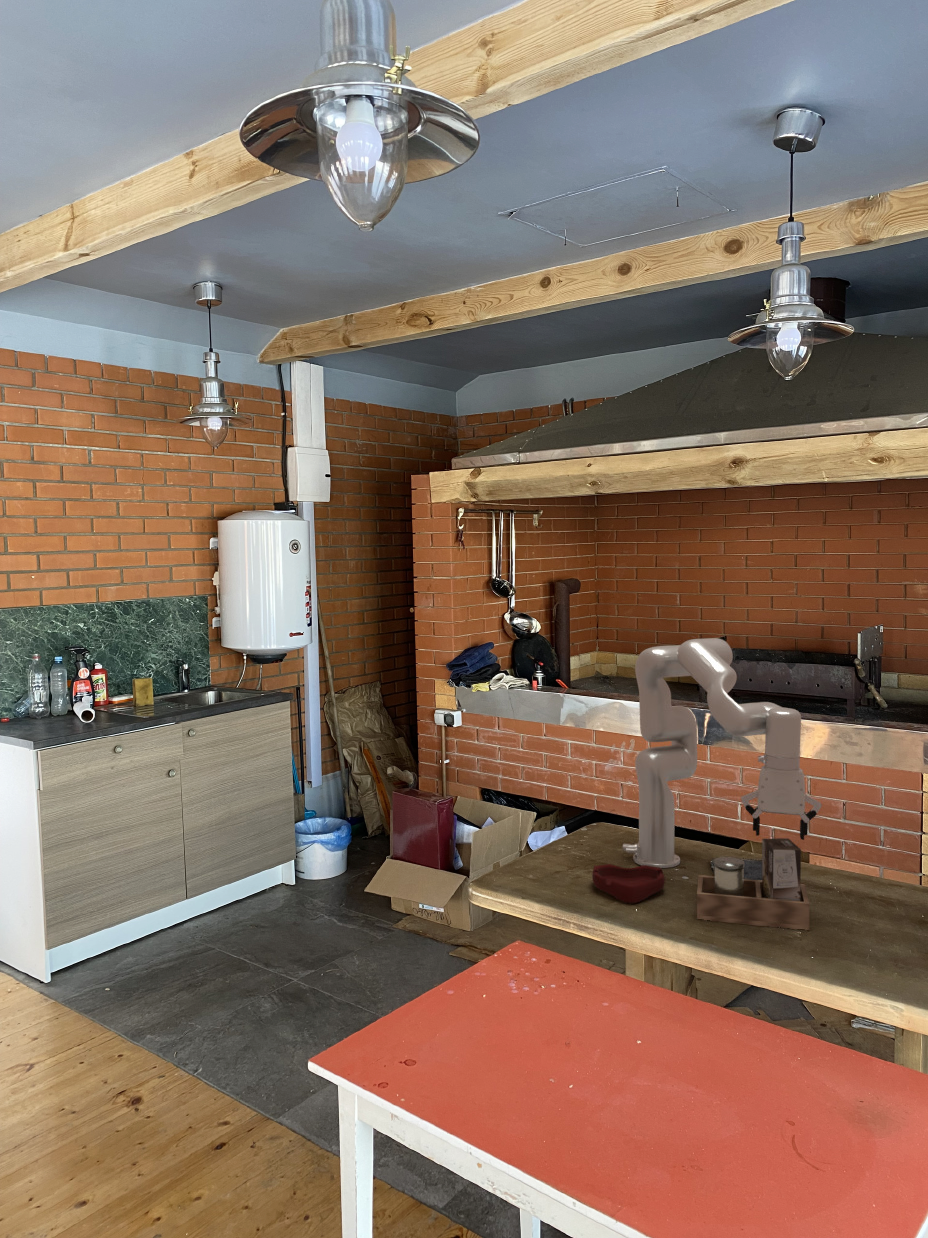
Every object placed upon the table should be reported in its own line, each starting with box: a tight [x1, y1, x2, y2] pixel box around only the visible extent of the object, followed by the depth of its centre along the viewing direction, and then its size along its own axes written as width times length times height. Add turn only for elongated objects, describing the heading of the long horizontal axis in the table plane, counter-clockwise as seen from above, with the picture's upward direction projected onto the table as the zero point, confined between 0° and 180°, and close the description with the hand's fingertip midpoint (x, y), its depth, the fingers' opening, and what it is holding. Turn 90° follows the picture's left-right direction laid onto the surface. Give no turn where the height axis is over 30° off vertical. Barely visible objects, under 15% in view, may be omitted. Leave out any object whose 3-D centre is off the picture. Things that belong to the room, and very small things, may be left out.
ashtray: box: [591, 863, 666, 904], centre depth 218 cm, size 18×16×5 cm
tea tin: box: [713, 856, 745, 896], centre depth 205 cm, size 7×7×11 cm
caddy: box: [696, 874, 810, 931], centre depth 204 cm, size 24×13×6 cm, turn 73°
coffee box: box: [761, 837, 802, 901], centre depth 202 cm, size 9×6×16 cm
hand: (779, 836), depth 202 cm, fingers open, 9 cm apart
